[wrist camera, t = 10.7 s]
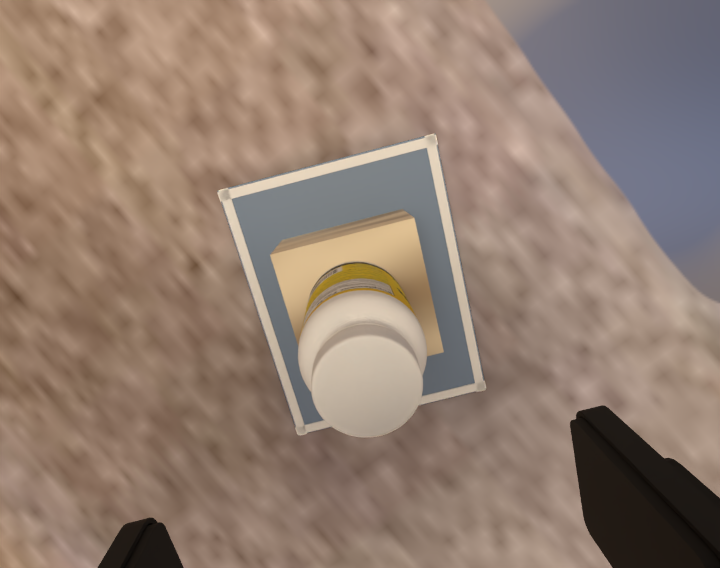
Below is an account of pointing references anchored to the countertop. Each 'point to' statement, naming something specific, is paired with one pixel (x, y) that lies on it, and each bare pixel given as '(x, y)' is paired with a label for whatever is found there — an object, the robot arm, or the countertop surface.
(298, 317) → the birch block
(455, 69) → the countertop surface
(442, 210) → the board
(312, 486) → the countertop surface
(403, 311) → the supplement bottle
